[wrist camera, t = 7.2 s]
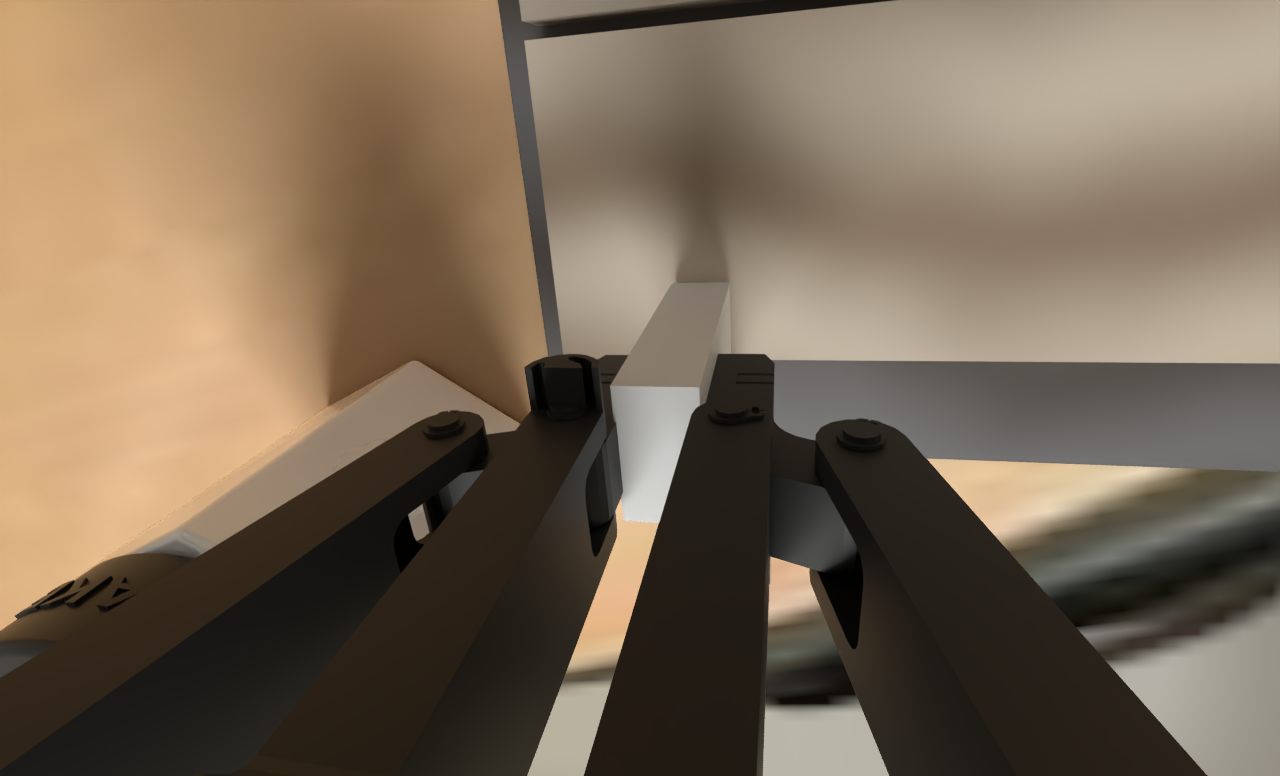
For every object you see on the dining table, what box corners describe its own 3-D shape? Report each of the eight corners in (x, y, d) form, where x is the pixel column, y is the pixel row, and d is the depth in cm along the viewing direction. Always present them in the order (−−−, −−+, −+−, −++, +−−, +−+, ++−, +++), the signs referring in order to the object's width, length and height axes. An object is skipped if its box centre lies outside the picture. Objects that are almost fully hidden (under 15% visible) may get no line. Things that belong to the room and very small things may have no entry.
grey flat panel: (410, -645, 12) (366, -732, 10) (1935, -1211, 7) (2166, -1472, 6) (562, 441, 21) (549, 463, 20) (1278, 467, 17) (1318, 497, 16)
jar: (594, 459, 21) (401, 831, 10) (499, 602, 25) (285, 984, 14) (361, 315, 21) (-90, 551, 10) (299, 483, 24) (-78, 785, 14)
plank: (541, 44, 16) (524, 40, 15) (1430, -50, 12) (1489, -64, 11) (575, 344, 19) (563, 358, 18) (1291, 346, 15) (1329, 363, 14)
